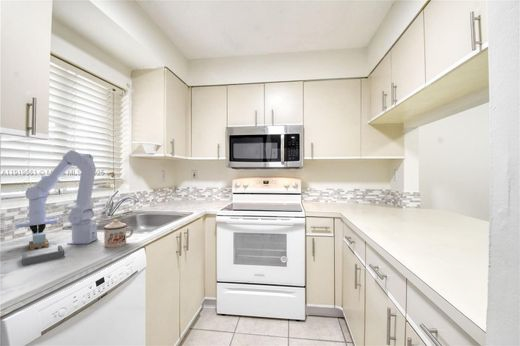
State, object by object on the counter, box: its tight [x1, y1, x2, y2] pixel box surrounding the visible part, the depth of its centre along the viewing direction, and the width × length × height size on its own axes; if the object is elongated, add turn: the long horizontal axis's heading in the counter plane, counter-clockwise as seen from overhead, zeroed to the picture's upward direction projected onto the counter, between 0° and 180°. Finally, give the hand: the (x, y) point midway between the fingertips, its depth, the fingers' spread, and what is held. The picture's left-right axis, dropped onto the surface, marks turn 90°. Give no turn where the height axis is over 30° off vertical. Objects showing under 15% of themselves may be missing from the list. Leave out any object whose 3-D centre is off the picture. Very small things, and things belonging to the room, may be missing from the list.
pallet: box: [28, 238, 50, 251], centre depth 104 cm, size 9×6×2 cm, turn 48°
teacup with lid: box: [103, 219, 134, 248], centre depth 108 cm, size 12×9×12 cm
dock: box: [21, 244, 66, 266], centre depth 91 cm, size 9×12×2 cm
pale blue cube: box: [32, 231, 47, 245], centre depth 104 cm, size 4×4×4 cm
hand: (37, 240), depth 109 cm, fingers closed
